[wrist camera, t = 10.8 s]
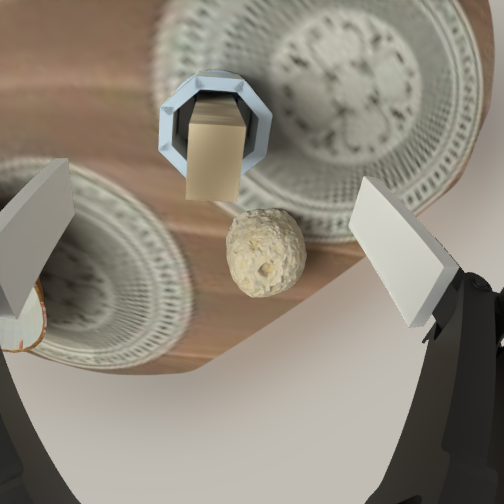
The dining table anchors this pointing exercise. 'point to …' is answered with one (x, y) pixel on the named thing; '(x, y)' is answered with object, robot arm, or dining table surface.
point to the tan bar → (215, 148)
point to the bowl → (25, 324)
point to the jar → (182, 105)
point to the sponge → (265, 252)
